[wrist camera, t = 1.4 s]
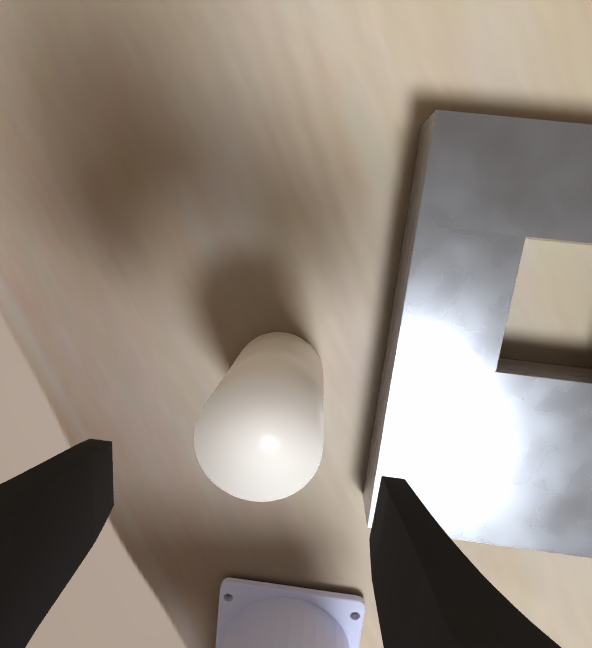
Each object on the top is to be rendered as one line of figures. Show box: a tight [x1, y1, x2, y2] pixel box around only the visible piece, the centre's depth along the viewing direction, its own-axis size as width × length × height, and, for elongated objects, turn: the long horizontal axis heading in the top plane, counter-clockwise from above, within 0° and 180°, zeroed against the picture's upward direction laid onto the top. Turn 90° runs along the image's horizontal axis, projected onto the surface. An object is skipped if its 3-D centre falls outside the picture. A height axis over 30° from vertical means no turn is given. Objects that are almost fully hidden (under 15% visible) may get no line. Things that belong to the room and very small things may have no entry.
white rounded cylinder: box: [193, 332, 323, 502], centre depth 18 cm, size 4×4×7 cm
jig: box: [363, 110, 592, 558], centre depth 19 cm, size 18×14×2 cm
